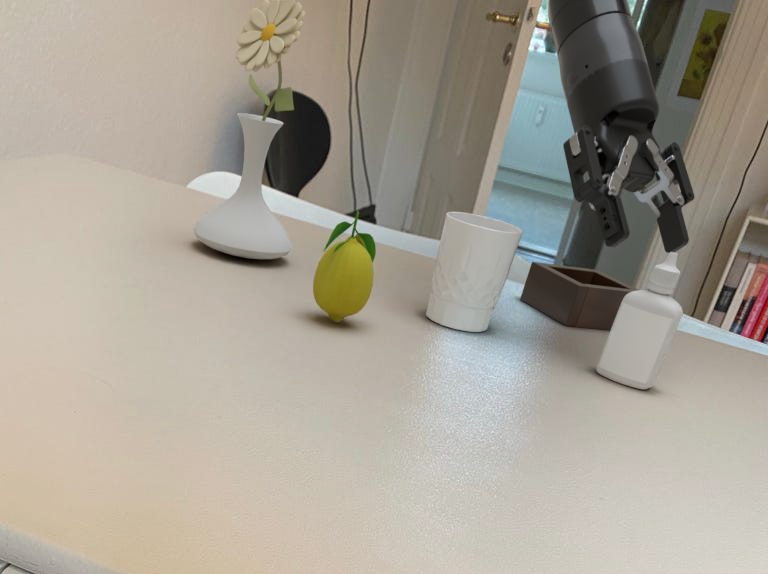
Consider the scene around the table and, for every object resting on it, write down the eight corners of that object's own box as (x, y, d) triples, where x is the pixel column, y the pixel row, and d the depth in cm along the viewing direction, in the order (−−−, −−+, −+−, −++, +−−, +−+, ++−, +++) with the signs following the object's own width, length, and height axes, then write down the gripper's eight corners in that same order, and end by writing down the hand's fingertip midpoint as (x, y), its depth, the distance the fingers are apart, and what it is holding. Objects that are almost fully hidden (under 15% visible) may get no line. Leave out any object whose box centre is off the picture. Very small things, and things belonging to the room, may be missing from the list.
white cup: (409, 306, 98) (434, 207, 92) (473, 314, 101) (501, 218, 95) (437, 330, 92) (466, 225, 86) (504, 338, 95) (537, 236, 89)
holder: (584, 306, 116) (597, 269, 113) (632, 332, 108) (647, 293, 106) (519, 299, 112) (531, 261, 109) (565, 326, 104) (579, 285, 102)
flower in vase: (181, 235, 106) (209, -25, 92) (272, 246, 110) (313, -1, 96) (208, 266, 97) (245, -19, 83) (307, 277, 101) (358, 7, 87)
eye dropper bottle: (624, 390, 87) (677, 259, 80) (588, 368, 91) (636, 242, 84) (658, 391, 88) (713, 263, 82) (621, 370, 92) (670, 247, 86)
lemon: (308, 328, 84) (330, 212, 78) (294, 309, 89) (315, 198, 83) (375, 336, 86) (402, 224, 80) (358, 317, 90) (383, 210, 85)
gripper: (585, 42, 79) (631, 216, 78) (687, 69, 86) (731, 229, 85) (525, 101, 86) (566, 262, 84) (624, 121, 93) (664, 270, 92)
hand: (649, 245), depth 85 cm, fingers open, 8 cm apart
